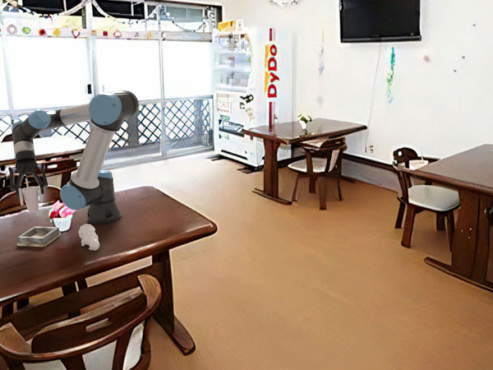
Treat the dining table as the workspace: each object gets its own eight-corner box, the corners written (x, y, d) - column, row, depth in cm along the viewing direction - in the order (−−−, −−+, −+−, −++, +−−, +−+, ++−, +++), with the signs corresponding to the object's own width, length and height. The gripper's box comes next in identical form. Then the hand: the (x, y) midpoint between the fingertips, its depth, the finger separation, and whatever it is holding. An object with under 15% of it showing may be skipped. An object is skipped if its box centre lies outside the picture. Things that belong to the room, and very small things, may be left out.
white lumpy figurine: (92, 220, 172) (103, 232, 163) (94, 238, 175) (104, 251, 166) (76, 224, 168) (86, 236, 159) (78, 243, 171) (88, 256, 163)
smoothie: (29, 208, 176) (23, 176, 172) (44, 208, 176) (39, 175, 172) (22, 214, 170) (15, 181, 166) (38, 213, 170) (32, 180, 166)
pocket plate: (61, 234, 180) (59, 227, 179) (44, 246, 169) (43, 238, 168) (35, 233, 182) (33, 226, 181) (17, 245, 171) (15, 237, 170)
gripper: (50, 156, 185) (58, 202, 175) (0, 162, 177) (6, 210, 168) (49, 146, 178) (57, 194, 169) (-3, 152, 171) (2, 202, 161)
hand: (31, 202), depth 168 cm, fingers closed on smoothie, 6 cm apart
